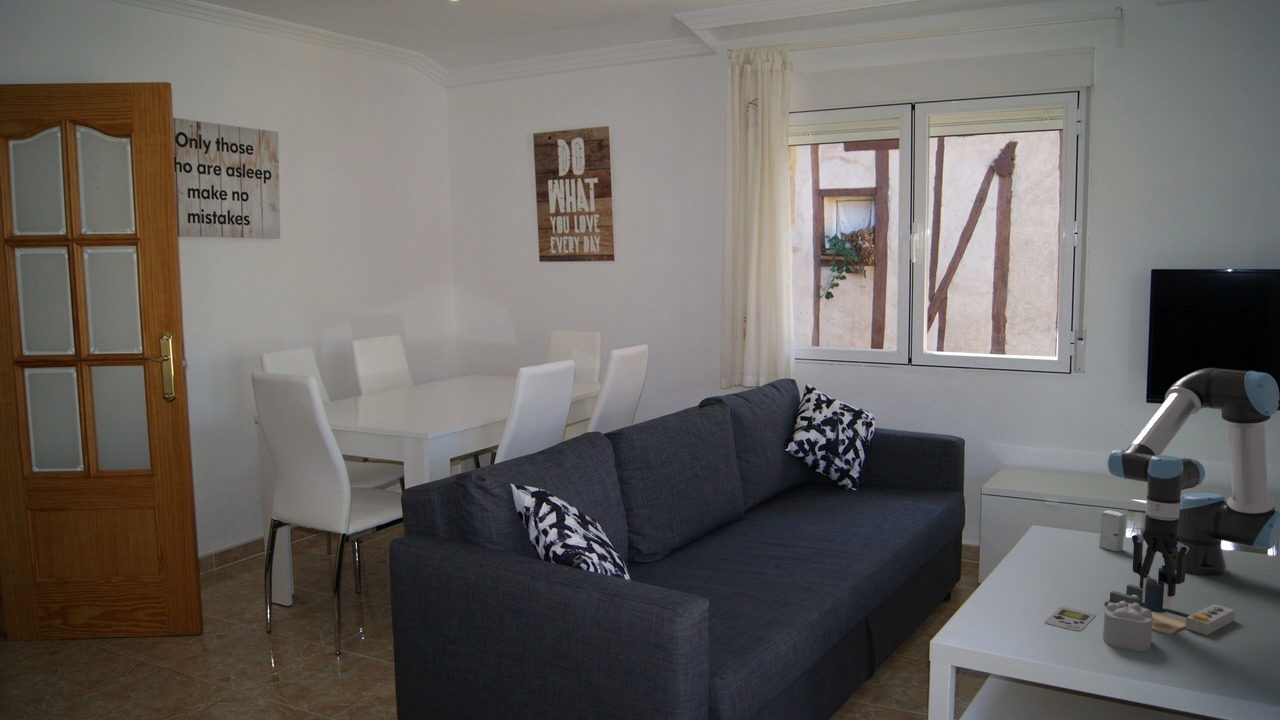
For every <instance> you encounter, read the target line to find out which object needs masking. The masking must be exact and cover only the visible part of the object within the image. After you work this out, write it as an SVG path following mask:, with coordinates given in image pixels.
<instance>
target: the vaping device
mask: <svg viewBox="0 0 1280 720" xmlns="http://www.w3.org/2000/svg"><path fill="white" fill-rule="evenodd" d="M1167 582H1168V581H1167V575H1166V569H1165V564H1163V565H1161V567H1160V568H1158V575H1157V579H1155V578H1152V579H1151V578H1149V579H1148V582H1147V584H1146V588H1145V604H1144V607H1143V608H1145V609H1149V610H1150V611H1151V612H1156V613H1167V611H1166V609H1164V608H1163V595H1164V584H1165V583H1167Z"/></svg>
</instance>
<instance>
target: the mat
mask: <svg viewBox="0 0 1280 720" xmlns="http://www.w3.org/2000/svg"><path fill="white" fill-rule="evenodd" d="M1151 613H1152V615H1153V622H1152V632H1153V631H1154V632H1157V633H1160V634H1163V635H1166V636H1170V635H1172V634H1174V633H1177V632H1179V631H1180V630H1182V629H1184V628H1185V629H1186V620H1184V619H1180V618H1177V617H1176V618H1175V617H1172V616H1170V615H1165V614H1163V613H1161V612H1151Z"/></svg>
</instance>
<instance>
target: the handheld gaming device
mask: <svg viewBox="0 0 1280 720" xmlns="http://www.w3.org/2000/svg"><path fill="white" fill-rule="evenodd" d="M1095 617H1096V614H1094V613H1091V612H1087V611H1084V610H1083V611H1082V610H1079V609H1074V608H1069V607H1066V606H1060V607H1058V608H1057V609H1056V610H1055V611H1054V612H1053V613H1052V614H1051V615H1050V616H1049V617H1048V618H1046V620H1044V624H1046V625H1049V626H1052V627H1053V626H1054V627H1057V628H1062V629H1067V630H1069V631H1073V632H1081V631H1083V630H1084V629H1085V628H1086V627H1087V626H1088V625H1089V624H1090V623H1091V622H1092V620H1093V619H1094V618H1095Z"/></svg>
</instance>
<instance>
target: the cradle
mask: <svg viewBox="0 0 1280 720" xmlns="http://www.w3.org/2000/svg"><path fill="white" fill-rule="evenodd" d="M1109 592H1110V593H1109V600H1106V601H1104V606H1105V607H1106V606H1107V604H1108V603H1119V602H1120V601H1126V602H1127V603H1131V604H1133V603H1138V604H1139V605H1140V606H1141V605H1144V604H1145V603H1143V602H1142V596H1143V589H1141V588H1140V585H1139V586H1138V585H1135V584H1131V583H1130V584H1126V593H1124V592H1119V591H1116V590H1112V591H1109ZM1166 612H1169V613H1172V614H1175V615H1178V616H1180V617H1181V616H1182V617H1185V618H1186V617H1188V616H1190V615H1191V614H1188V613H1186V612H1182V611H1179V610H1174V609H1172V608H1167V609H1166Z"/></svg>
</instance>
